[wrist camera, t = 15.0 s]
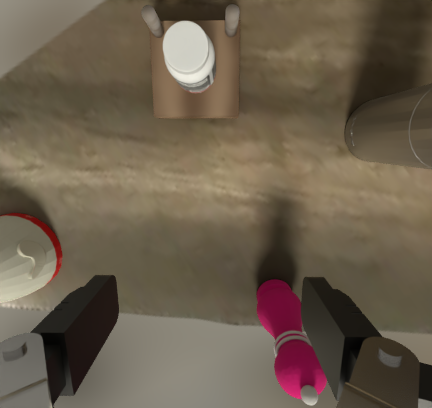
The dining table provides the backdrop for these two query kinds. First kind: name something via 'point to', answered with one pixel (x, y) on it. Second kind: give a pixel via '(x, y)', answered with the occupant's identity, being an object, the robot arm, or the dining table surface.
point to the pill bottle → (189, 56)
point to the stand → (224, 80)
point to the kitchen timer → (26, 255)
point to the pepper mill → (290, 342)
